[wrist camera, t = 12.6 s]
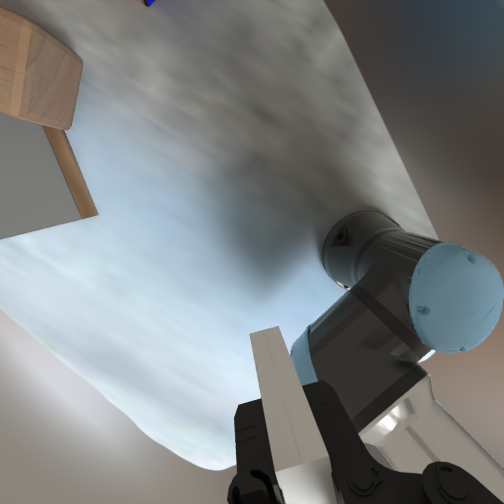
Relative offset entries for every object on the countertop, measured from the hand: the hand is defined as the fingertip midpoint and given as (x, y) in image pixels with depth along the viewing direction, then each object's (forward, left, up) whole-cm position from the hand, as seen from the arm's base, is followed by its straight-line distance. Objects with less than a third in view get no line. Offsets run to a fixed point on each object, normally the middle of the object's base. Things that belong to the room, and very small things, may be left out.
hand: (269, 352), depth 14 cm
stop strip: (+22, -20, -34) cm, 45 cm away
